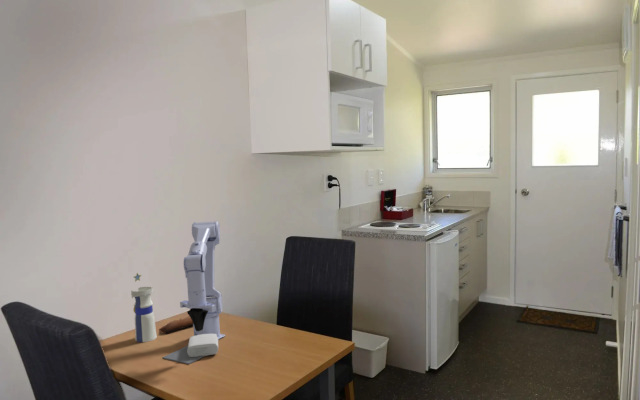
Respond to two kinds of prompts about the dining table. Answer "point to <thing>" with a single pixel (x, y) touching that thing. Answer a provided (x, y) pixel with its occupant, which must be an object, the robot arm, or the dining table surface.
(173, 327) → the sunglasses case
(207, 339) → the photo printer
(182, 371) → the dining table surface
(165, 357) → the topple mat
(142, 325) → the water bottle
